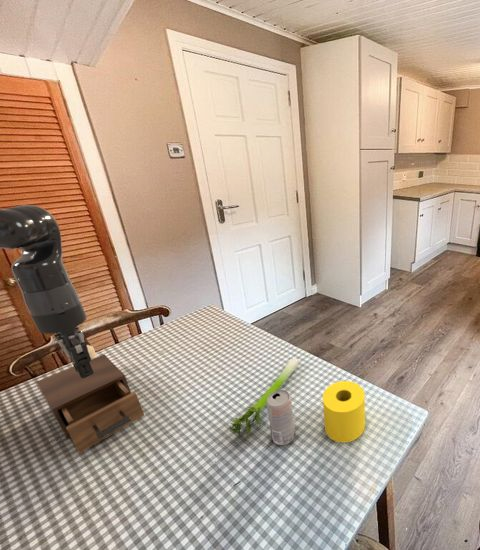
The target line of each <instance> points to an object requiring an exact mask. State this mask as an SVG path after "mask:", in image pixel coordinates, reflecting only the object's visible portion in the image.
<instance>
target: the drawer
mask: <svg viewBox="0 0 480 550" xmlns="http://www.w3.org/2000/svg"><path fill="white" fill-rule="evenodd" d="M60 410H61V412H62V414H63V416H64V418H65V420H66V422H67V424H68V426H67V427H66V429H67V431H68V433H69V434H70V438H71V441H72V442H73V444H74V447H75V448H76V450H77V452H78V453H79V454H80V453H82V452H84V451H86V450H87V449H89V448H91V447H93V446H95V445H96V444H98V443H100V442H101V441H103V440H105V439H106V438H108V437H110V436H112V435H113V434H115V433H117V432H118V431H121V430H123V429H124V428H125V427H128V426H129V425H131V424H132V423H134V422H136V421H137V420H139V419H141V418H142V417H144V416H145V413H144V410H143V407H142V404H141V402H140V400H139V396H138V394H137V392H136V391H133V392H132V391H131V393H130V392H129V391H128V390H127V388H126V387H125V386H124V385H123V384H122V383H121V382H120V381H117V382H115V383H113V384H111V385H109V386H107V387H105V388H103V389H101V390H98V391H96V392H94V393H92V394H90V395H88V396H86V397H84V398H82V399H80V400H78V401H75V402H73V403H71V404H69V405H67V406H65V407H63V408H61V409H60Z"/></svg>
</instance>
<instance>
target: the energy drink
mask: <svg viewBox="0 0 480 550" xmlns="http://www.w3.org/2000/svg"><path fill="white" fill-rule="evenodd" d="M292 402H293V401H292V397H291V395H290V393H289V391H287V390H285V389H279V390H277V391H274V392H272V393H271V394H270V395H269V396H268V398H267V404H266V409H267V415H268V419H269V420H268V421H269V427H270V432H271V439H272V442H273V443H274V444H275V445H277V446H286V445H288V444H290V443H291V442H292V441H294V439H295V437H296V427H295V419H294V409H293V403H292Z"/></svg>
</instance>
